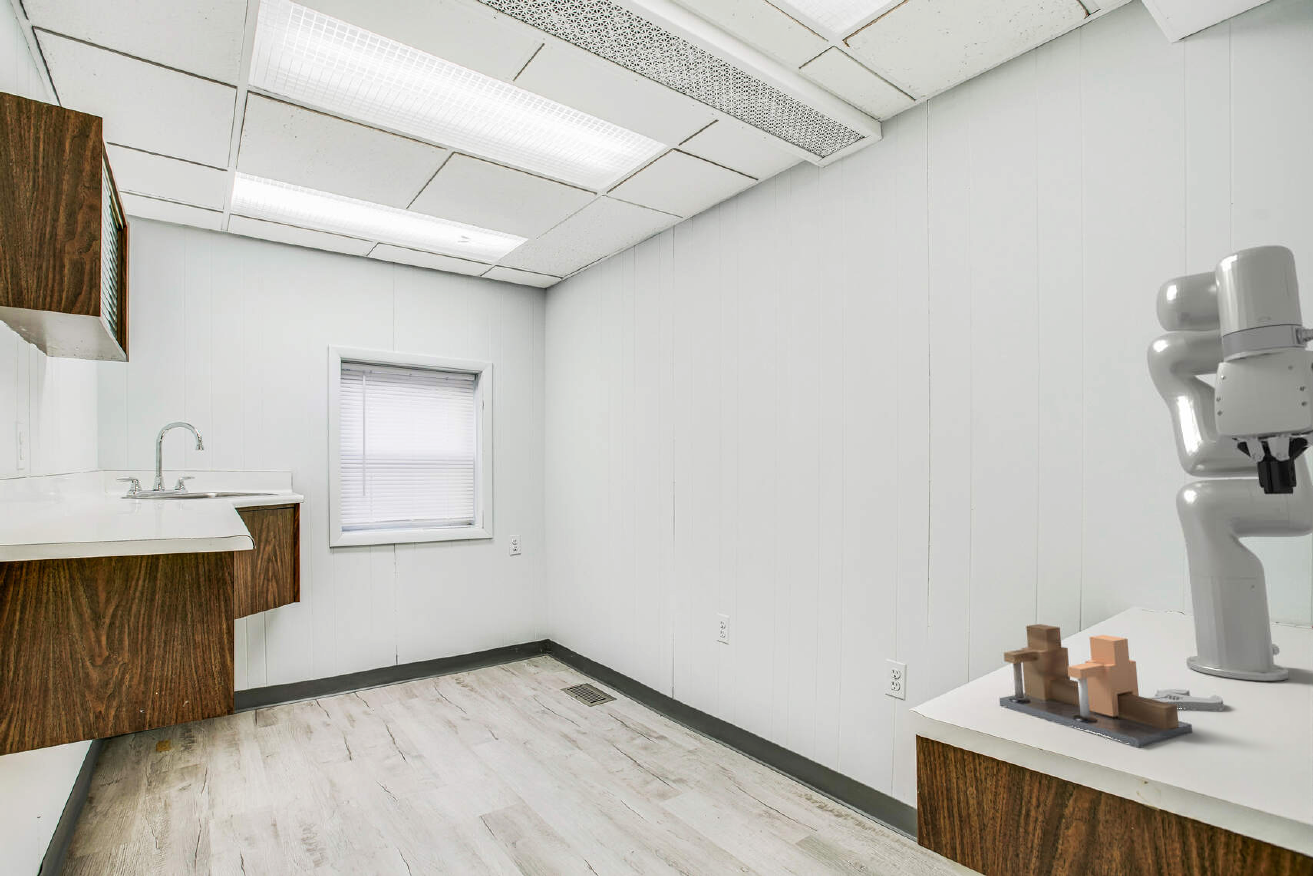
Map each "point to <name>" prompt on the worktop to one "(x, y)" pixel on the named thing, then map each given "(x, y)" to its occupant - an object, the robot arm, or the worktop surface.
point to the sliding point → (1105, 675)
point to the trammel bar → (1051, 680)
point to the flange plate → (1095, 721)
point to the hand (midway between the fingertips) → (1278, 493)
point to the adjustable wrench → (1188, 700)
